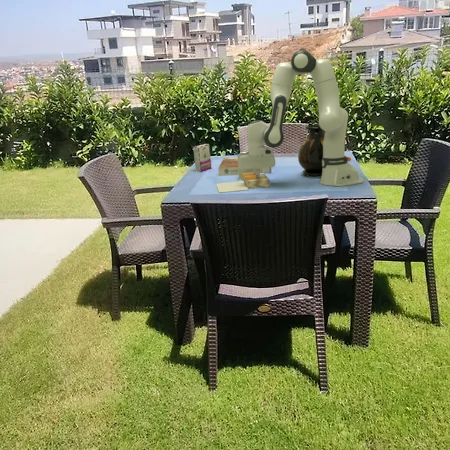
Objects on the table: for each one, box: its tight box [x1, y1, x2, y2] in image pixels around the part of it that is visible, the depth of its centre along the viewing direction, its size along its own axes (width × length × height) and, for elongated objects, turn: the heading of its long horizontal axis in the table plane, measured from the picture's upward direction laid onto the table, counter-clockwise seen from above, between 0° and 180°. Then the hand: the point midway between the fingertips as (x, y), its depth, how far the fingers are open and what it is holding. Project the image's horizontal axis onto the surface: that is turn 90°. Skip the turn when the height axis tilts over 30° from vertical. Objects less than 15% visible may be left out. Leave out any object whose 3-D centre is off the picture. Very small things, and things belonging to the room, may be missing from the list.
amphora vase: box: [297, 123, 325, 178], centre depth 256 cm, size 22×22×28 cm
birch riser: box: [243, 173, 271, 190], centre depth 246 cm, size 12×14×4 cm
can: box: [238, 160, 253, 181], centre depth 262 cm, size 9×9×12 cm
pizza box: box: [217, 156, 272, 177], centre depth 288 cm, size 32×5×32 cm
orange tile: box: [243, 173, 256, 181], centre depth 245 cm, size 6×9×2 cm, turn 6°
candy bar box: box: [193, 143, 212, 173], centre depth 292 cm, size 11×5×16 cm, turn 143°
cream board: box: [215, 180, 250, 194], centre depth 246 cm, size 16×20×1 cm
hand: (257, 175), depth 246 cm, fingers closed
